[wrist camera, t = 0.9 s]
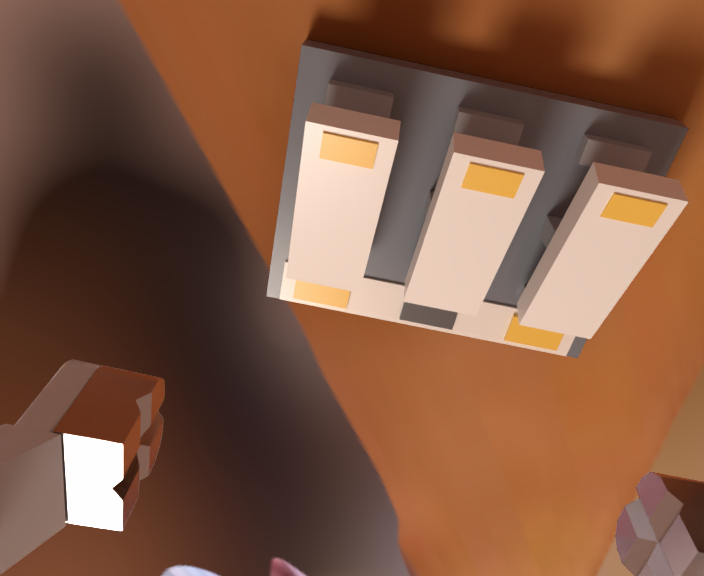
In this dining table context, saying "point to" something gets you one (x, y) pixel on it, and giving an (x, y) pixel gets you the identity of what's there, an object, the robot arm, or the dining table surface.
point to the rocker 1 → (339, 194)
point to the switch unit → (425, 167)
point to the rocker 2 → (471, 222)
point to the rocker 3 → (599, 248)
